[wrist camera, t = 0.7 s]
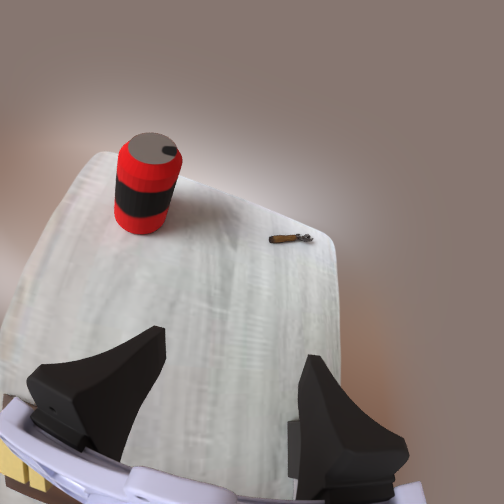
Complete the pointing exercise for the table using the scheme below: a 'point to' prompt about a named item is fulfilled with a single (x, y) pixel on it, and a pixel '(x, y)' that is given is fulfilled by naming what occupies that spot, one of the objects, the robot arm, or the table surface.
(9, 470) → the butter block
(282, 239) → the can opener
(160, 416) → the table surface
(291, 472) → the knife
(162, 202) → the soda can
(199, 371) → the table surface
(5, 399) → the board
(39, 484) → the butter slice
